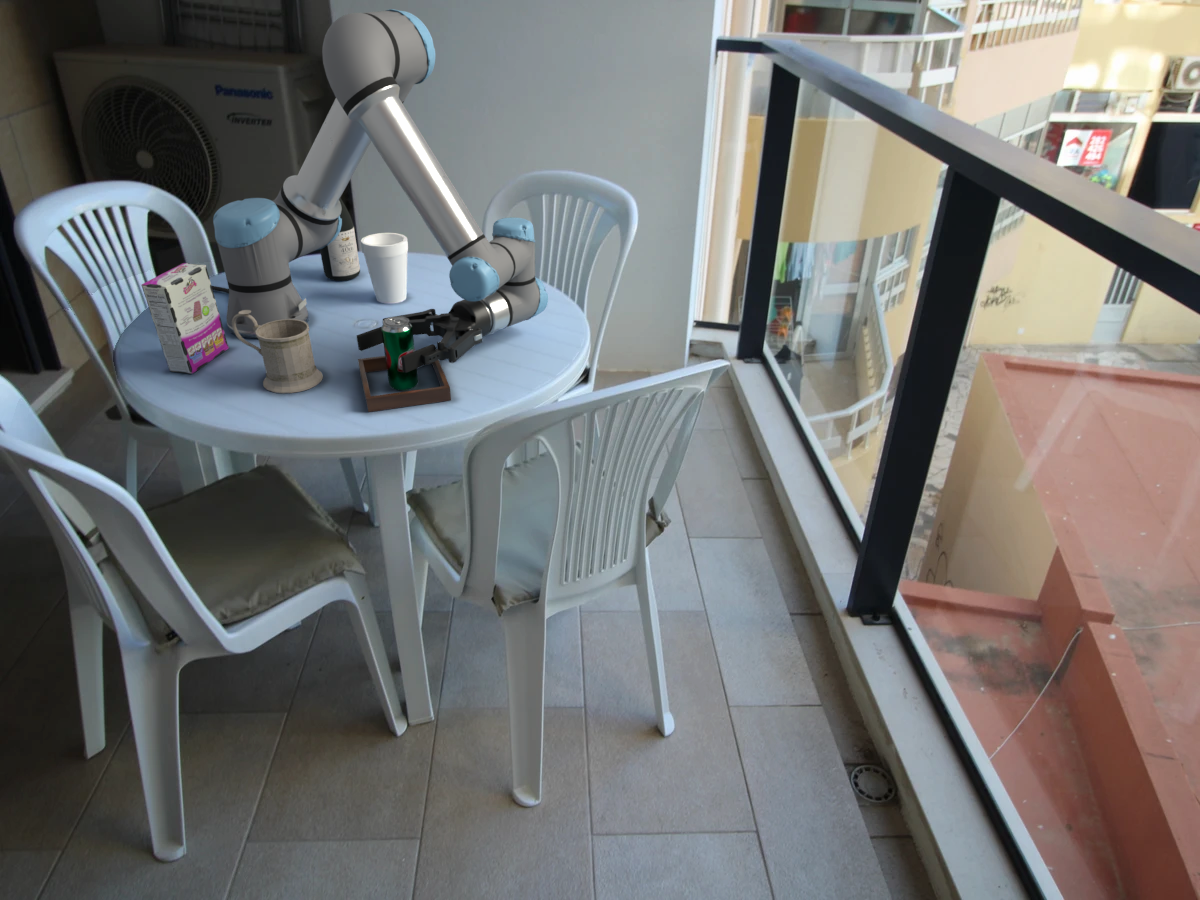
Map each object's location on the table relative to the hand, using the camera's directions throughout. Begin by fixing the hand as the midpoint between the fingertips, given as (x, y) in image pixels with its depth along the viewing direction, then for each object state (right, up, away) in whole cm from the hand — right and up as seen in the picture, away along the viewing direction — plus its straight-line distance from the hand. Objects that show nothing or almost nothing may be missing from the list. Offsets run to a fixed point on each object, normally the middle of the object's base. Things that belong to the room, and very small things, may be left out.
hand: (380, 353), depth 128 cm
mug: (-20, -4, +8) cm, 21 cm away
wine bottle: (-23, +24, +51) cm, 61 cm away
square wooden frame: (+2, -5, +6) cm, 8 cm away
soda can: (+2, -5, +7) cm, 9 cm away
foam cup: (-9, +17, +41) cm, 45 cm away
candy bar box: (-37, 0, +13) cm, 39 cm away
